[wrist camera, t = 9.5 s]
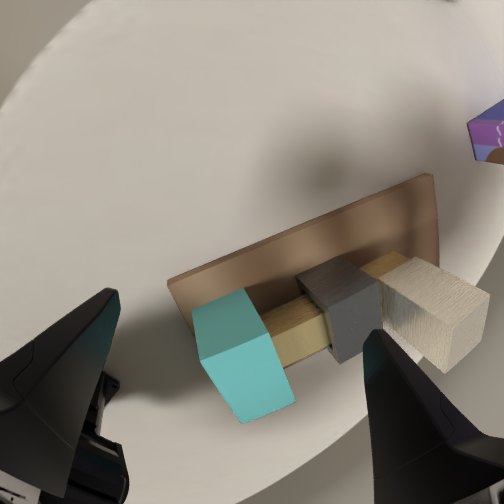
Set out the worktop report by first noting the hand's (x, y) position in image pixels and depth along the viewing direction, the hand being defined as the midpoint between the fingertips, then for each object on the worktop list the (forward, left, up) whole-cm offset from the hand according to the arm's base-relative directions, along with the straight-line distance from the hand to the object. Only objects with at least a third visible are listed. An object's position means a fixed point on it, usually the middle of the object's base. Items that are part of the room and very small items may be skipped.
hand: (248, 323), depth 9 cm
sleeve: (+2, -10, -11) cm, 15 cm away
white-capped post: (+1, -10, -10) cm, 14 cm away
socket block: (-5, -7, -11) cm, 14 cm away
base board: (+3, -11, -12) cm, 17 cm away
